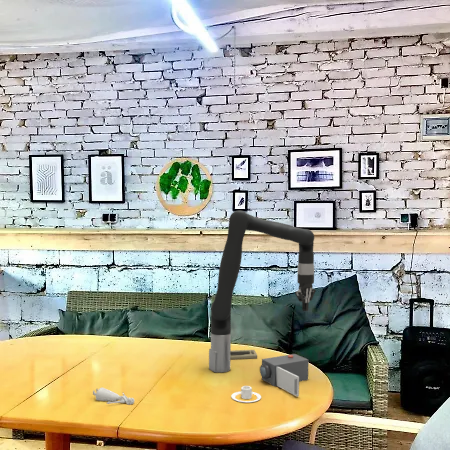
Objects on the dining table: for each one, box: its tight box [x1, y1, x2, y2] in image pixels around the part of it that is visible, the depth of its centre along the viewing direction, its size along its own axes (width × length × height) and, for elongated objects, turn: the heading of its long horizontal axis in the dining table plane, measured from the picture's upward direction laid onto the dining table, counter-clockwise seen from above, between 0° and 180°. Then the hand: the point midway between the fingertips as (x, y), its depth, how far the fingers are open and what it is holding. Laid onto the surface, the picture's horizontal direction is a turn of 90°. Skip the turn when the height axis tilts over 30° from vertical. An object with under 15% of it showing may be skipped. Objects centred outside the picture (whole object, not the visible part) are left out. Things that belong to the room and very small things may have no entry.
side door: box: [275, 366, 300, 397], centre depth 208 cm, size 15×2×8 cm, turn 29°
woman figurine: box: [92, 386, 136, 406], centre depth 197 cm, size 12×4×18 cm
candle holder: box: [231, 385, 262, 403], centre depth 202 cm, size 12×12×4 cm
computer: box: [230, 349, 258, 361], centre depth 256 cm, size 16×8×3 cm, turn 99°
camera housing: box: [259, 353, 309, 387], centre depth 222 cm, size 20×10×10 cm, turn 119°
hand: (305, 310), depth 231 cm, fingers closed
